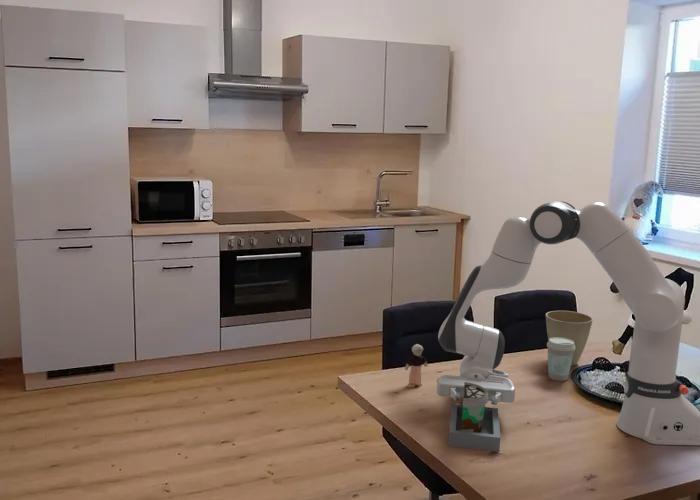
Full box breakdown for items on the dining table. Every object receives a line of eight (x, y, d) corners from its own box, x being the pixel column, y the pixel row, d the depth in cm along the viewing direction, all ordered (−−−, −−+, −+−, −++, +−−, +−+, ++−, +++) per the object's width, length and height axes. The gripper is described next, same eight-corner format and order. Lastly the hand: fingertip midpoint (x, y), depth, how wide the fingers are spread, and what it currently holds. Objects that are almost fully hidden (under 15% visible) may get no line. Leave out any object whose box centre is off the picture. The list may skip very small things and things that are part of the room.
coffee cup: (542, 379, 211) (545, 342, 209) (545, 371, 219) (548, 335, 217) (571, 384, 208) (574, 346, 206) (573, 375, 216) (577, 339, 214)
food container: (486, 440, 165) (489, 401, 163) (461, 437, 166) (463, 399, 164) (486, 420, 177) (488, 383, 175) (462, 417, 178) (464, 381, 176)
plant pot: (541, 353, 237) (545, 308, 234) (586, 358, 233) (591, 313, 231) (541, 366, 223) (545, 319, 220) (589, 372, 219) (594, 324, 216)
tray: (496, 420, 179) (497, 408, 179) (499, 451, 162) (500, 437, 161) (450, 416, 181) (451, 403, 181) (448, 446, 164) (449, 432, 163)
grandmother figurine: (411, 389, 199) (413, 348, 197) (402, 385, 202) (404, 344, 200) (429, 384, 204) (431, 343, 202) (420, 380, 207) (422, 340, 205)
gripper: (437, 366, 188) (435, 384, 174) (513, 373, 184) (517, 392, 171) (436, 388, 189) (433, 407, 176) (512, 395, 186) (515, 415, 172)
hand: (475, 400), depth 173 cm, fingers open, 8 cm apart
